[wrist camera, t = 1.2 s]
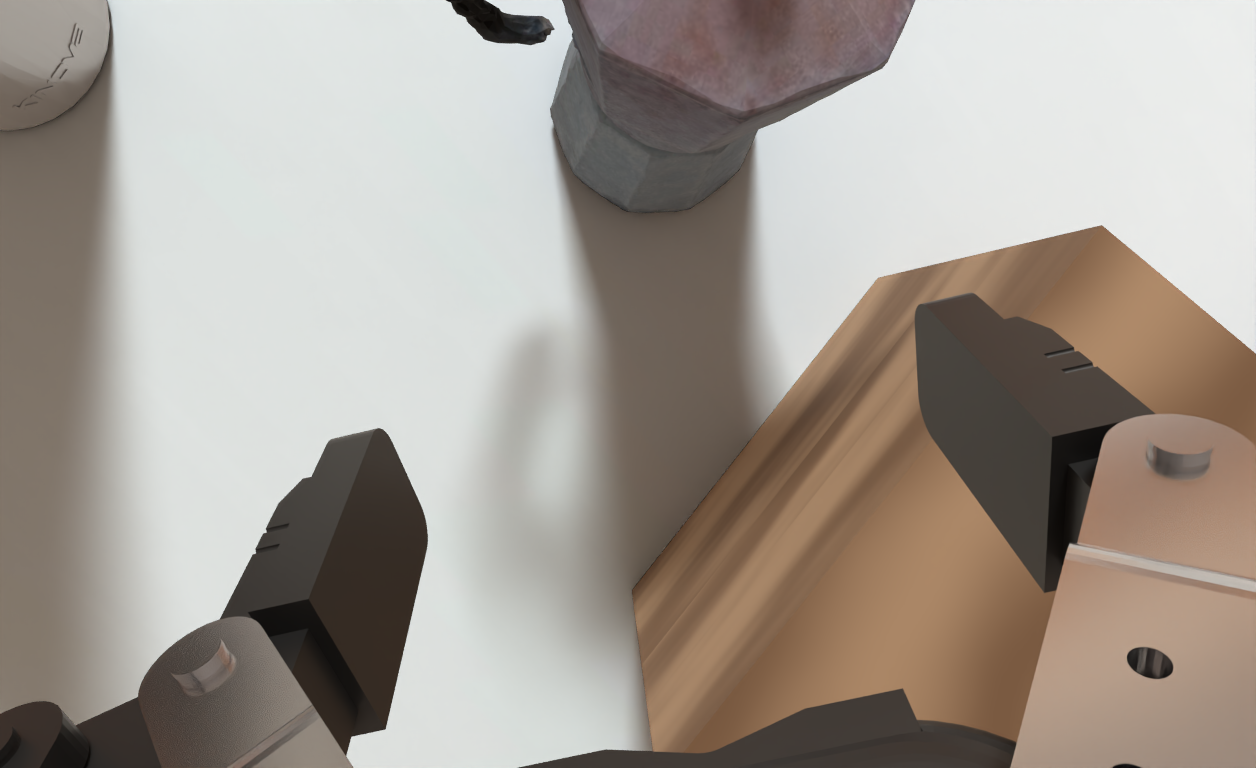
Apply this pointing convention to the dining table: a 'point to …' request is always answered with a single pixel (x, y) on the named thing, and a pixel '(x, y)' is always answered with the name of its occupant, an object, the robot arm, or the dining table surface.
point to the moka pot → (691, 82)
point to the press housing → (899, 510)
